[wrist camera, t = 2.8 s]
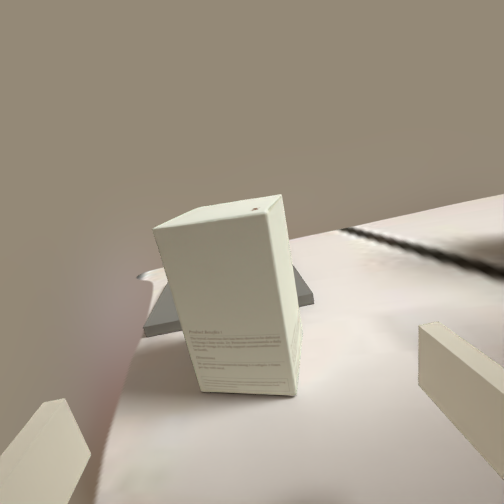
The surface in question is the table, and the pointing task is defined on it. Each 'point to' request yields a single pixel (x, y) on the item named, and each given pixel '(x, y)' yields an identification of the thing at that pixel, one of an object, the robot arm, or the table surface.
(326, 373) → the table surface
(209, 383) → the supplement box
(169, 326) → the charging pad
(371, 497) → the table surface
